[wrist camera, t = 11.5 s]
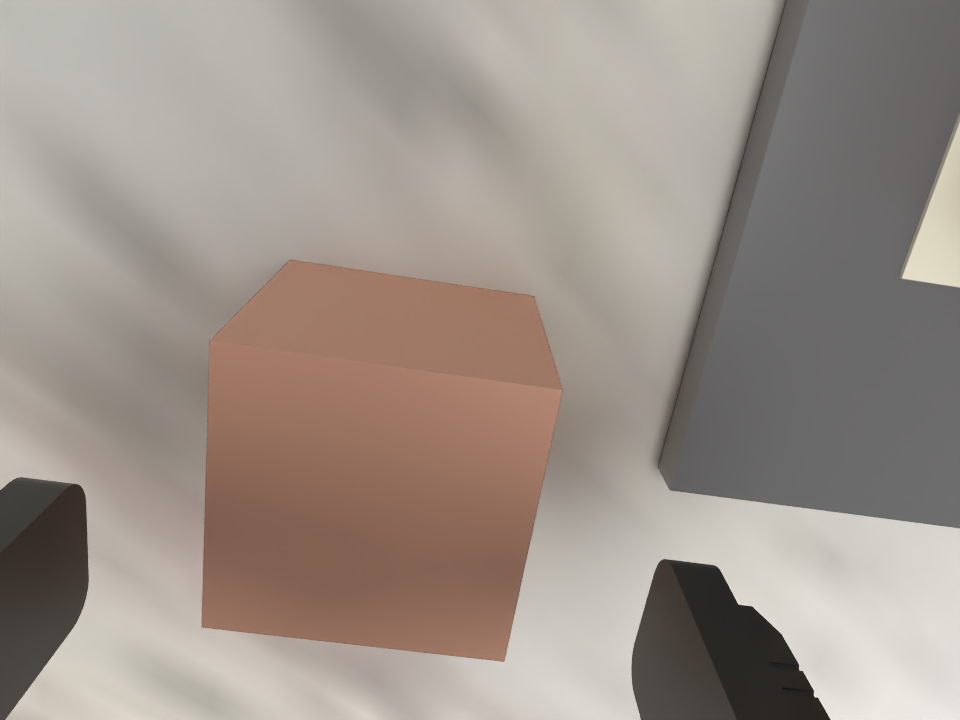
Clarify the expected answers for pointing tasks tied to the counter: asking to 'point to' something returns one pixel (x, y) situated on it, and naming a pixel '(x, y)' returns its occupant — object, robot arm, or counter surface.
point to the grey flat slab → (837, 278)
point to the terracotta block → (375, 461)
